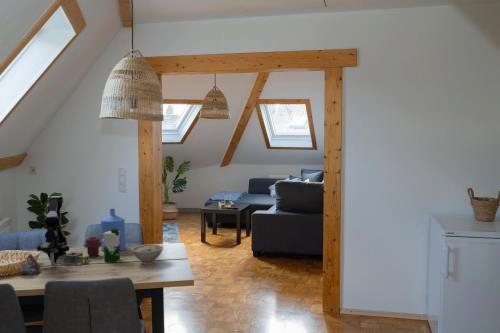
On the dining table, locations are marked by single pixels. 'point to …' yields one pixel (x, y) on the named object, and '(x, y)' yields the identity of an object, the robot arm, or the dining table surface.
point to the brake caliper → (30, 266)
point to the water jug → (114, 227)
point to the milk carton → (111, 245)
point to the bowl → (147, 253)
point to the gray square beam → (53, 260)
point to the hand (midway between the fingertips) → (53, 262)
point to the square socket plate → (74, 259)
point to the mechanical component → (93, 246)
